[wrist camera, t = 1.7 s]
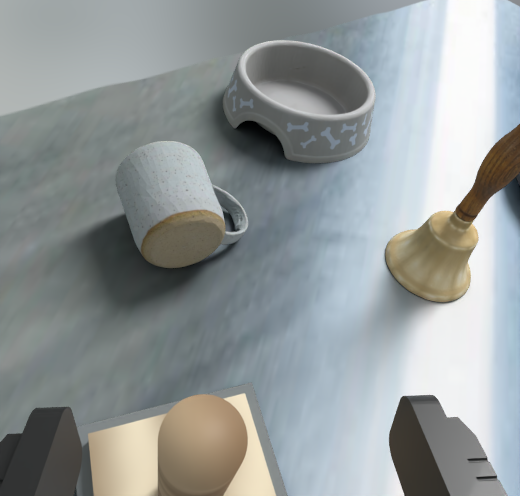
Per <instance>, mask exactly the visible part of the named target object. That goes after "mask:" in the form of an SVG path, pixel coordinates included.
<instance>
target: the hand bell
mask: <svg viewBox="0 0 520 496" xmlns="http://www.w3.org/2000/svg"><path fill="white" fill-rule="evenodd" d="M519 172H520V124H519V125H518V126H517V127H516V128H515V129H513V130H512V131H511V132H509V133H508V134H506V135H505V136H504V137H502V138H501V139H500V140H499V141H498V142H497V143H496V144H495V145H494V146H493V147H492V148H491V150H490V151H489V153H488V154H487V155H486V157H485V159H484V160H483V162H482V164H481V166H480V168H479V170H478V173H477V176H476V180H475V183H474V185H473V187H472V189H471V190H470V192H469V193H468V194H467V195H466V197H465V198H464V199H463V200H462V202H461V203H460V204H459V205H458V206H457V208H456V210H455V211H454V212H451V211H440V212H437V213H435V214H433V215H432V216H431V217H430V218H429V219H428V220H427V221H426V222H425V223H424V224H423V225H422V226H421V227H420V228H418V229H417V230H407V231H404V232H401V233H399V234H397V235H395V236H394V237H393V238H392V239H391V240H390V241H389V243H388V244H387V247H386V252H385V257H386V262H387V265H388V267H389V269H390V271H391V273H392V274H393V276H394V277H395V278H396V279H397V281H398V282H399V283H400V284H401V285H402V286H404V287H405V288H406V289H407V290H409V291H410V292H412V293H414V294H415V295H417V296H419V297H422V298H424V299H427V300H431V301H436V302H448V301H452V300H456V299H458V298H460V297H461V296H463V295H464V294H465V293H466V291H467V290H468V288H469V285H470V279H471V273H470V268H469V265H468V259H469V257H470V255H471V253H472V251H473V250H474V248H475V246H476V245H477V242H478V233H477V230H476V228H475V227H474V225H473V224H472V222H473V220H474V219H475V218H476V217H477V215H478V213H479V212H480V211H481V209H482V208H483V206H484V205H485V204H486V202H487V201H488V200H489V198H490V197H491V196H493V195H494V194H495V193H496V192H498V191H499V190H501V189H502V188H504V187H505V186H506V185H507V184H509V183H510V182H511V181H512V180H513V179H514V178H515V177H516V176H517V175H518V173H519Z"/></svg>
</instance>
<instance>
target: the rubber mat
mask: <svg viewBox="0 0 520 496" xmlns="http://www.w3.org/2000/svg"><path fill="white" fill-rule="evenodd" d="M243 393H245V395H246V398H247V401H248V405H249V408H250V411H251V414H252V418H253V421H254V424H255V428H256V431H257V434H258V438H259V441H260V444H261V447H262V451H263V454H264V457H265V461H266V464H267V467H268V471H269V474H270V477H271V480H272V484H273V487H274V490H275V494H276V496H287V492H286V489H285V486H284V483H283V480H282V477H281V473H280V470H279V467H278V464H277V461H276V458H275V455H274V451H273V448H272V445H271V442H270V439H269V436H268V432H267V429H266V426H265V423H264V420H263V417H262V413H261V410H260V407H259V404H258V401H257V398H256V394H255V391H254V388H253V385H252V383H248V384H244V385H240V386H236V387H232V388H228V389H224V390H220V391H216V392H212V393H208V394H207V395H214V396H217V397H220V398H222V399H224V398H228V397H232V396H236V395H239V394H243ZM180 401H182V400H180ZM180 401H176V402H172V403H168V404H164V405H160V406H156V407H152V408H149V409H145V410H141V411H137V412H133V413H129V414H125V415H121V416H117V417H113V418H109V419H105V420H101V421H97V422H93V423H89V424H85V425H81V426H77V430H78V434H79V437H80V440H81V444H82V463H81V469H80V473H79V477H78V481H77V484H76V488H77V496H94V491H93V481H92V471H91V460H90V450H89V439H88V434H89V433H93V432H97V431H100V430H104V429H108V428H112V427H116V426H120V425H124V424H127V423H131V422H135V421H139V420H143V419H147V418H151V417H155V416H158V415H162V414H166V413H168V412H169V411H170V410H171V409H172V407H173V406H175V405H176V404H177V403H179V402H180Z"/></svg>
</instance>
